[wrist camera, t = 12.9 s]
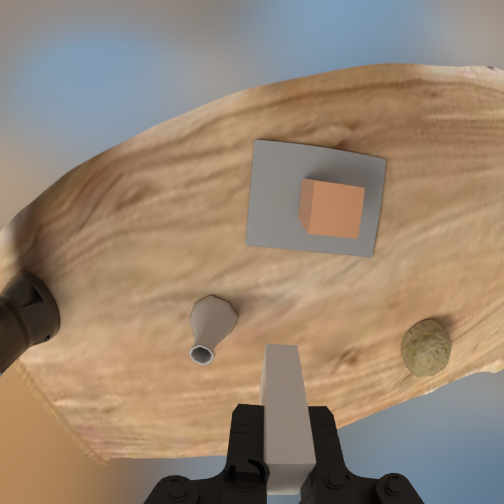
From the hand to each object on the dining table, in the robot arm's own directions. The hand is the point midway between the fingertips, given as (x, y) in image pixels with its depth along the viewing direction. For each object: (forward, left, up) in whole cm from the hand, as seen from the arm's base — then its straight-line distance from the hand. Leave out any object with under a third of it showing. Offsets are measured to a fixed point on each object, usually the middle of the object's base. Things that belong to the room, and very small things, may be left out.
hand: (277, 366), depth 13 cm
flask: (-7, -13, -27) cm, 31 cm away
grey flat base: (+6, +6, -26) cm, 28 cm away
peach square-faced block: (+6, +6, -24) cm, 26 cm away
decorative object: (+30, -16, -27) cm, 43 cm away
